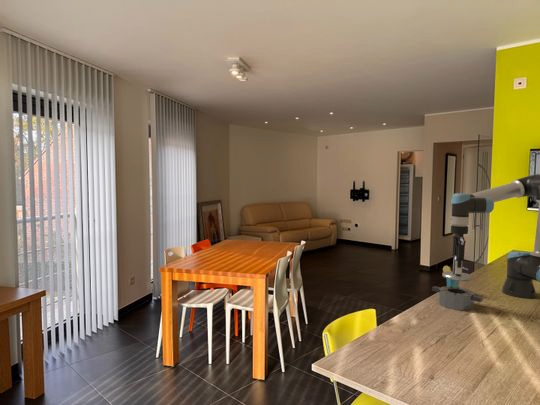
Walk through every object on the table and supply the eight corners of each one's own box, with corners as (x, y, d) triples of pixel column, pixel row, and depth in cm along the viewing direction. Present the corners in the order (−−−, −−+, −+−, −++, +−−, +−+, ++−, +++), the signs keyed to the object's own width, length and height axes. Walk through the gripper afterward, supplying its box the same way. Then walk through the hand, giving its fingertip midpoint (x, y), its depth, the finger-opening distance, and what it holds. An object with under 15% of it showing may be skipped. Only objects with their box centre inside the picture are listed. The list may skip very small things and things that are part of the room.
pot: (426, 302, 184) (426, 288, 183) (439, 296, 194) (439, 283, 193) (474, 315, 167) (475, 300, 166) (486, 307, 177) (487, 293, 176)
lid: (467, 274, 184) (468, 254, 183) (475, 281, 171) (476, 259, 171) (439, 272, 187) (440, 252, 186) (445, 279, 174) (446, 257, 174)
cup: (470, 294, 197) (471, 267, 196) (465, 297, 191) (466, 269, 190) (443, 288, 207) (444, 262, 206) (438, 291, 202) (439, 264, 200)
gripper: (447, 222, 186) (445, 268, 188) (455, 227, 170) (453, 276, 172) (463, 223, 185) (461, 269, 186) (473, 227, 169) (470, 277, 170)
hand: (457, 272), depth 179 cm, fingers closed on lid, 4 cm apart
